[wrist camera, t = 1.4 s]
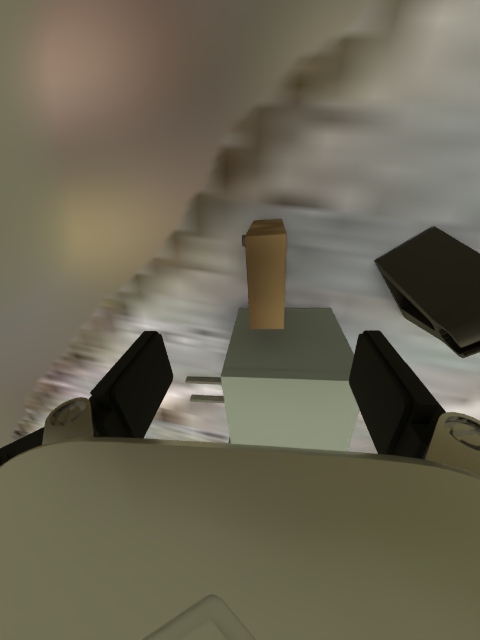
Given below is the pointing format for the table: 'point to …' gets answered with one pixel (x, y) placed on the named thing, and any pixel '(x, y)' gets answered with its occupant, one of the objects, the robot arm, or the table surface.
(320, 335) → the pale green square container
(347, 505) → the robot arm
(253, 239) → the tan rectangular block
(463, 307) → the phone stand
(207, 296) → the table surface
